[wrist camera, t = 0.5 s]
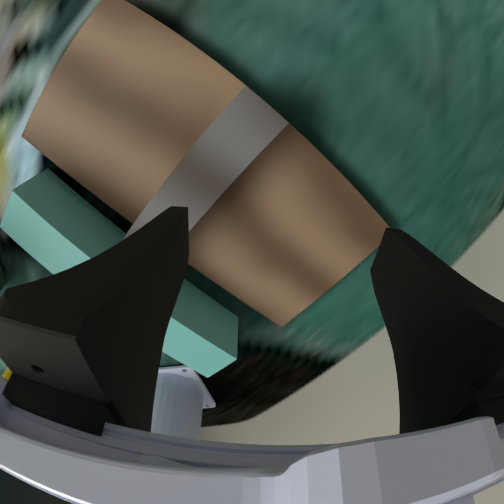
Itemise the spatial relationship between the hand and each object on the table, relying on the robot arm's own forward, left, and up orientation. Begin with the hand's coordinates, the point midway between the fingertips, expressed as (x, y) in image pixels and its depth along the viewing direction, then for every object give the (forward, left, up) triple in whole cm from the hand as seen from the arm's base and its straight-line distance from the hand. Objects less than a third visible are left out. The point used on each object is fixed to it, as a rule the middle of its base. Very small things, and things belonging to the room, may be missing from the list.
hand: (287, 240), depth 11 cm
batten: (-12, -5, -11) cm, 17 cm away
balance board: (-4, +1, -10) cm, 11 cm away
